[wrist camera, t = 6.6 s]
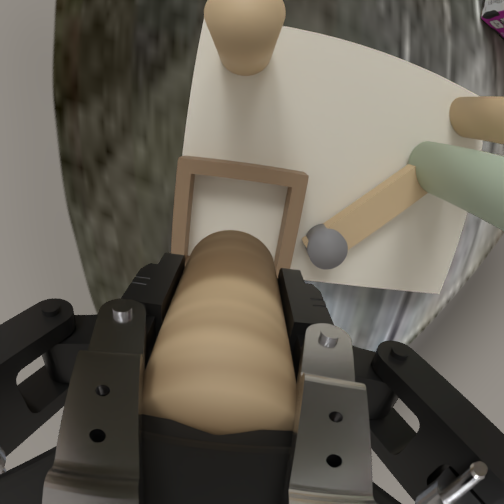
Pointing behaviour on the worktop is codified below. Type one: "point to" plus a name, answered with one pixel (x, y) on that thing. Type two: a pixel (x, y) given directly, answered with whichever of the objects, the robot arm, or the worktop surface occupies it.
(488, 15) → the candy bar box
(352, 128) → the stool seat
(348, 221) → the hinged leg
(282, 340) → the loose leg
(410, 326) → the worktop surface
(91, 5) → the worktop surface
